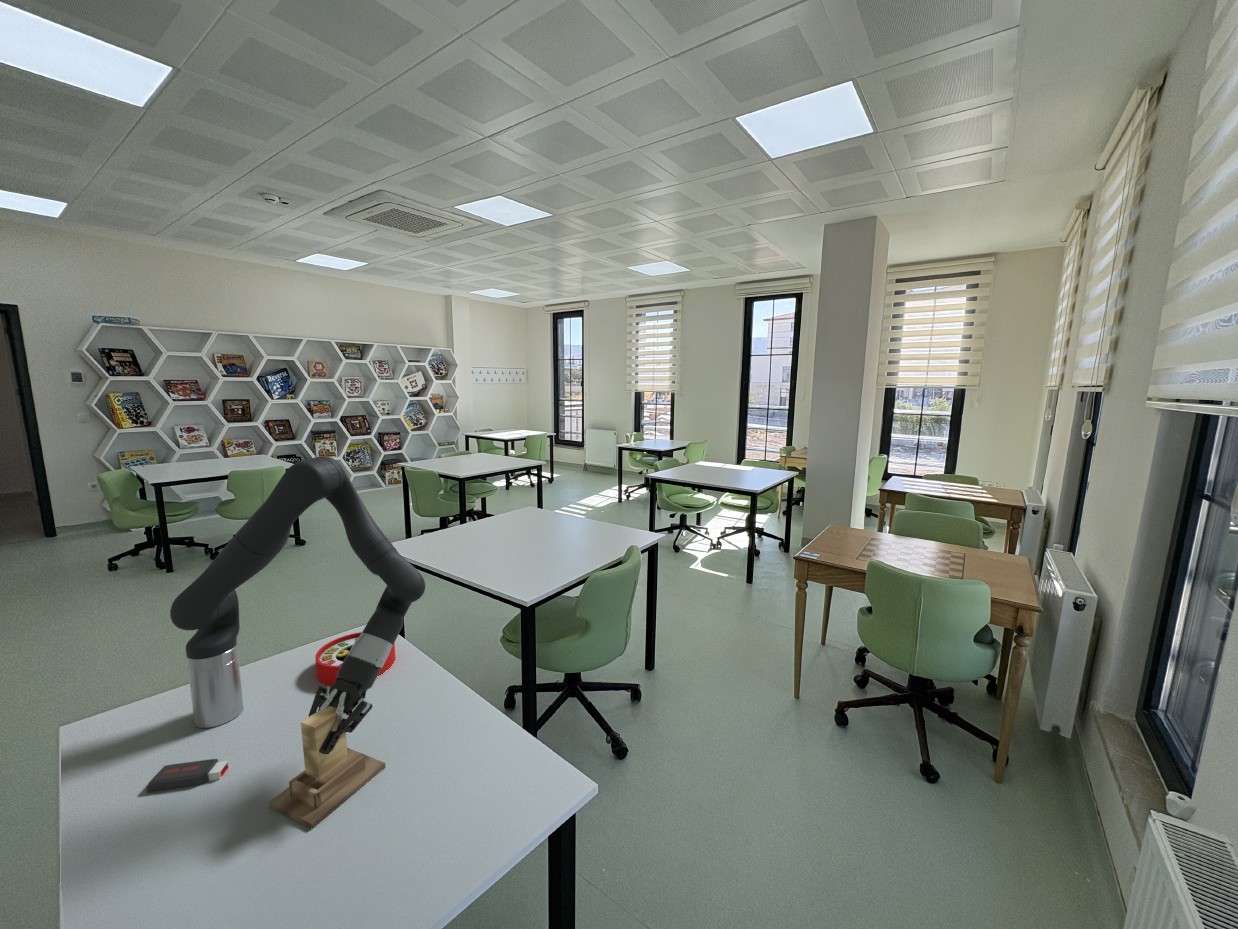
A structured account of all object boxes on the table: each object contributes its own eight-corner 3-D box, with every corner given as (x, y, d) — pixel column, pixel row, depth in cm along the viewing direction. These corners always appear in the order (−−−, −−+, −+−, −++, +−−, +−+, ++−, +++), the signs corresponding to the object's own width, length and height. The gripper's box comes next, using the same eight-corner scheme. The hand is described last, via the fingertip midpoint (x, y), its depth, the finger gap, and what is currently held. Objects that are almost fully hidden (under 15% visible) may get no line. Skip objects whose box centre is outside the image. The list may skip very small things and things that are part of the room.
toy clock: (301, 652, 136) (370, 625, 152) (303, 671, 137) (371, 642, 153) (338, 675, 125) (408, 643, 141) (339, 696, 126) (409, 662, 142)
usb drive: (164, 774, 100) (163, 762, 99) (232, 765, 102) (230, 753, 102) (146, 795, 95) (144, 782, 94) (217, 784, 97) (216, 772, 97)
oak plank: (305, 773, 94) (300, 722, 92) (334, 752, 99) (329, 703, 98) (319, 780, 92) (314, 727, 91) (347, 758, 98) (343, 708, 96)
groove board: (269, 806, 92) (267, 788, 91) (345, 750, 106) (344, 734, 106) (312, 829, 87) (310, 809, 87) (385, 767, 102) (384, 750, 101)
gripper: (329, 647, 102) (275, 736, 93) (378, 662, 97) (326, 758, 88) (353, 658, 108) (305, 743, 99) (401, 672, 103) (354, 764, 93)
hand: (315, 749), depth 93 cm, fingers closed on oak plank, 4 cm apart
